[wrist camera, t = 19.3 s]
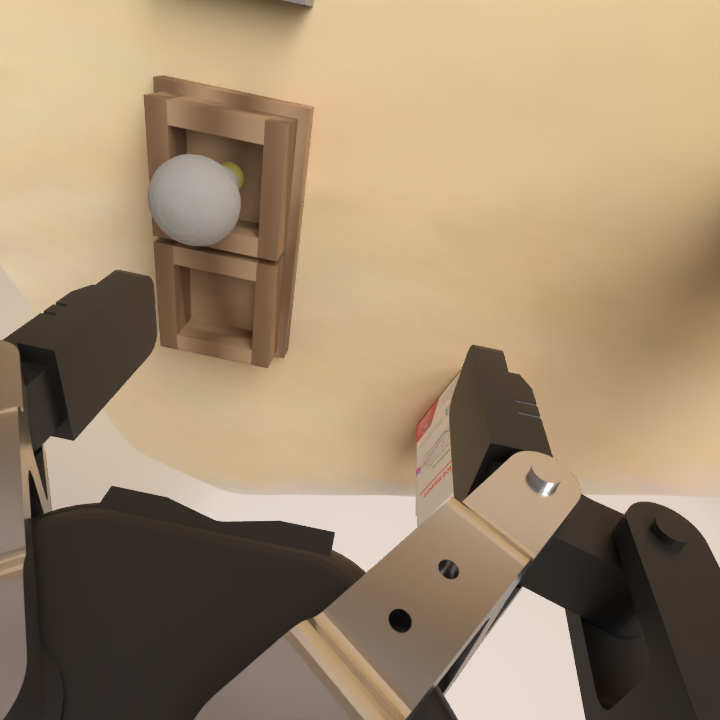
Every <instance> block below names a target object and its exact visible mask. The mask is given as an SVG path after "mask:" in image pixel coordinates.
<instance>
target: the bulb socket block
mask: <svg viewBox="0 0 720 720" xmlns="http://www.w3.org/2000/svg"><path fill="white" fill-rule="evenodd" d="M281 1H286V2H291V3H296V4H301V5H305V6H310V7H313V1H314V0H281Z"/></svg>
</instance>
